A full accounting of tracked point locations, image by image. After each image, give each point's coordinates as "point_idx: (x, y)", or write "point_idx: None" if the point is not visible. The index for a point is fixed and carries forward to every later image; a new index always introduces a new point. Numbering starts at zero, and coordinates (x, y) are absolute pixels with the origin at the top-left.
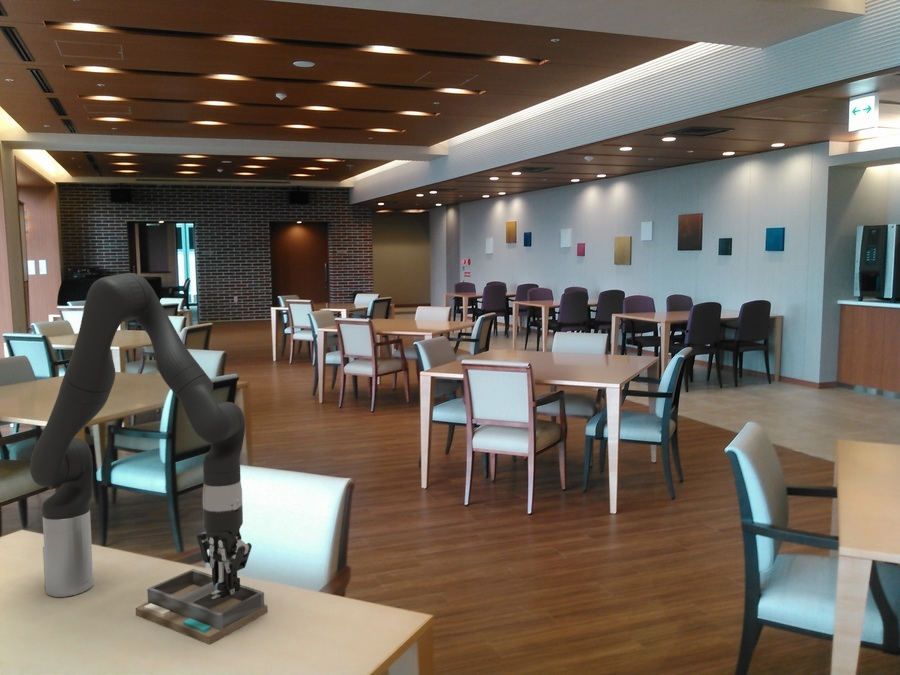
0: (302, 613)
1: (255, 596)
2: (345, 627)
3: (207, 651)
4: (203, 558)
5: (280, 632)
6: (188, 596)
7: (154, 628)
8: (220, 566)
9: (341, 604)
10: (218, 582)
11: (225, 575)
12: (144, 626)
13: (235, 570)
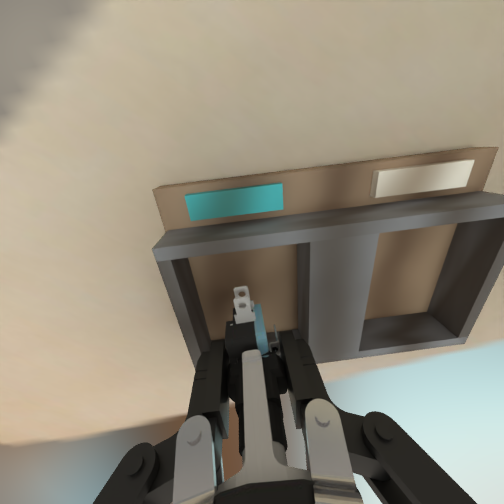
0: (152, 369)
1: (193, 360)
2: (48, 384)
3: (126, 159)
4: (407, 437)
5: (105, 315)
6: (355, 257)
7: (364, 135)
8: (253, 437)
9: (137, 412)
10: (266, 347)
11: (220, 394)
12: (401, 122)
13: (126, 461)
